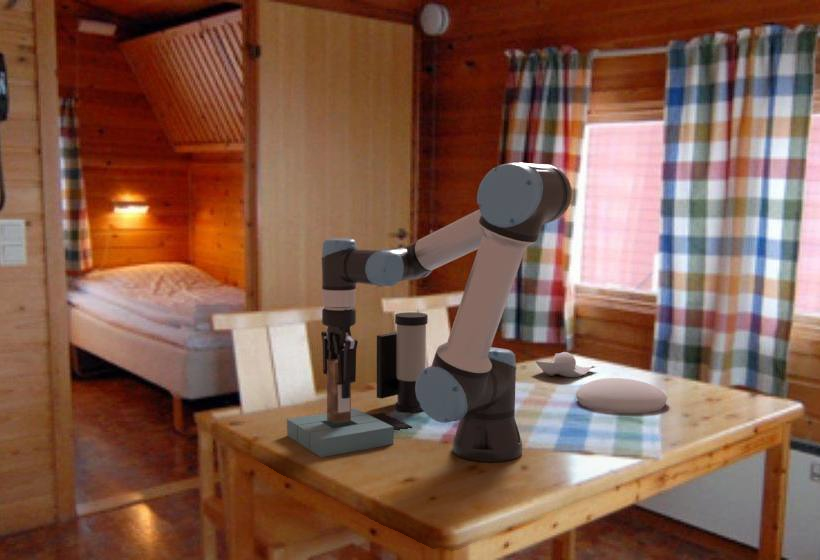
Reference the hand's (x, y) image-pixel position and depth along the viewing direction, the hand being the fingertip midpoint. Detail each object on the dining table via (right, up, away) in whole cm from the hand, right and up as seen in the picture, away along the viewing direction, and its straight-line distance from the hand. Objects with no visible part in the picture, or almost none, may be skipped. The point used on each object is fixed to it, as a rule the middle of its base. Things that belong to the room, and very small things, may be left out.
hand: (339, 408), depth 191 cm
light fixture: (+15, -4, +29) cm, 33 cm away
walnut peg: (0, -3, 0) cm, 3 cm away
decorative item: (+73, -4, +34) cm, 80 cm away
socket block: (0, -7, +1) cm, 7 cm away
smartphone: (+10, -6, +15) cm, 19 cm away
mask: (+63, 0, +69) cm, 94 cm away
